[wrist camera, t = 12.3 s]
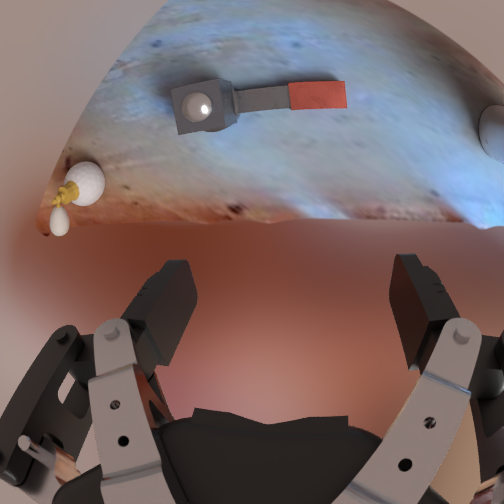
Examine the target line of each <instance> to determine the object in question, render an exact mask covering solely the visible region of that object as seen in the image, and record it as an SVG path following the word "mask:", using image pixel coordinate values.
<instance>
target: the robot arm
mask: <svg viewBox="0 0 504 504" xmlns="http://www.w3.org/2000/svg"><path fill="white" fill-rule="evenodd" d="M479 136H480V141H481V144H482V146H483V148H484V150H485V152H486V153H487V154H488V155H489V156H490V157H491V158H493V159H495V160H497V161H499V162H501V163H503V164H504V106H499V105H491V106H488V107H487V108H486V109H485V110H484V111H483V113H482V115H481V118H480V122H479ZM389 301H390V305H391V308H392V311H393V315H394V318H395V321H396V324H397V328H398V331H399V335H400V338H401V342H402V346H403V350H404V353H405V357H406V361H407V365H408V369H409V371H410V370H417V369H419V370H420V374H421V376H420V378H419V379H418V381H417V383H416V385H415V387H414V389H413V390H412V392H411V394H410V396H409V398H408V399H407V401H406V403H405V405H404V406H403V408H402V409H401V411H400V413H399V414H398V416H397V418H396V419H395V421H394V422H393V424H392V425H391V427H390V428H389V430H388V431H387V433H386V434H385V435H384V437H383V438H382V439H381V438H380V437H378V436H376V435H375V434H373V433H371V432H369V431H367V430H364V429H361V428H358V427H355V426H349V425H348V416H335V417H334V416H333V417H307V418H302V419H298V420H293V421H287V422H282V423H276V424H263V423H260V422H256V421H253V420H250V419H247V418H244V417H241V416H238V415H235V414H232V413H229V412H221V411H213V410H206V409H199V408H195V409H194V412H193V415H192V417H188V418H182V419H178V420H175V419H174V417H173V416H172V414H171V412H170V410H169V407H168V404H167V402H166V399H165V396H164V394H163V391H162V388H161V385H160V382H159V379H158V377H157V374H156V372H155V368H156V365H163V366H169V364H170V361H171V359H172V357H173V355H174V353H175V350H176V348H177V346H178V344H179V342H180V339H181V337H182V335H183V333H184V330H185V328H186V326H187V324H188V322H189V320H190V318H191V315H192V313H193V311H194V309H195V307H196V304H197V289H196V286H195V283H194V279H193V276H192V272H191V269H190V266H189V263H188V261H187V260H168V261H167V262H166V263H165V264H164V266H163V267H162V269H161V270H160V271H159V272H157V273H155V274H154V275H153V276H151V277H150V278H149V279H148V280H147V281H146V282H145V284H144V285H143V286H142V289H140V291H139V292H138V293H137V296H135V298H134V299H133V300H132V302H131V303H130V305H129V306H128V308H127V309H126V310H125V312H124V313H123V315H122V316H121V318H120V319H119V318H118V319H111V320H109V321H106V322H104V323H103V324H102V325H100V326H99V327H98V328H97V330H96V331H95V333H94V334H89V335H80V333H79V332H78V330H77V329H76V327H75V326H73V325H66V326H63V327H61V328H59V329H58V330H56V331H55V332H54V333H53V334H52V336H51V337H50V338H49V340H48V341H47V343H46V344H45V346H44V347H43V348H42V350H41V352H40V353H39V354H38V356H37V357H36V359H35V360H34V362H33V363H32V365H31V367H30V368H29V370H28V371H27V373H26V374H25V376H24V378H23V379H22V381H21V383H20V384H19V386H18V388H17V389H16V391H15V393H14V394H13V396H12V398H11V400H10V401H9V403H8V405H7V407H6V409H5V411H4V413H3V415H2V416H1V418H0V479H2V480H4V481H5V482H7V483H8V484H9V485H11V486H12V487H14V488H16V489H18V490H20V491H22V492H24V493H25V494H27V495H28V496H29V497H31V498H32V499H33V500H35V501H36V502H37V503H39V504H449V503H448V502H447V501H446V500H445V499H444V498H443V497H442V496H441V495H439V494H438V493H437V492H436V491H435V490H434V489H433V488H432V487H431V486H430V483H431V481H432V479H433V478H434V476H435V474H436V473H437V471H438V469H439V467H440V465H441V463H442V462H443V460H444V458H445V456H446V454H447V452H448V450H449V448H450V446H451V444H452V442H453V439H454V437H455V435H456V433H457V430H458V428H459V426H460V423H461V421H462V418H463V416H464V413H465V411H466V408H467V405H468V403H469V401H470V406H471V411H472V416H473V421H474V426H475V432H476V439H477V446H478V453H479V463H480V475H481V476H480V477H481V485H480V486H479V487H478V489H477V491H476V492H475V494H474V497H473V499H472V500H471V502H470V504H504V330H503V332H502V334H501V336H500V337H493V336H485V335H481V332H480V330H479V329H478V327H477V326H476V325H475V324H474V323H472V322H471V321H469V320H467V319H464V318H461V317H460V316H459V313H458V311H457V309H456V308H455V306H454V304H453V302H452V300H451V298H450V296H449V294H448V293H447V292H446V289H445V287H444V285H442V282H441V280H440V278H439V277H438V275H437V274H436V273H435V272H434V271H433V270H432V269H430V268H429V267H428V266H422V264H421V262H420V260H419V259H418V257H417V255H416V254H397V255H396V256H395V259H394V265H393V271H392V277H391V283H390V288H389ZM68 372H69V373H70V374H71V375H72V377H73V378H74V379H75V382H74V384H73V386H72V387H71V389H70V392H69V393H68V395H67V397H66V399H65V401H64V403H63V404H62V403H61V402H60V401H59V399H58V390H59V387H60V386H61V384H62V382H63V380H64V379H65V377H66V375H67V373H68ZM92 422H93V427H94V433H95V439H96V444H97V449H98V453H99V458H100V463H101V464H99V465H97V466H96V467H94V468H92V469H90V470H88V471H87V472H85V473H83V474H81V473H80V471H79V470H77V469H76V460H77V458H78V456H79V453H80V451H81V448H82V445H83V443H84V441H85V438H86V436H87V434H88V431H89V429H90V427H91V424H92Z"/></svg>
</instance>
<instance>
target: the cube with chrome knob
mask: <svg viewBox="0 0 504 504" xmlns="http://www.w3.org/2000/svg"><path fill="white" fill-rule="evenodd" d="M171 96H172V102H173V107H174V113H175V119H176V124H177V130H178V135H182V134H187V133H192V132H197V131H203V130H209V129H215V128H222V127H227V126H229V125H232V124H234V123H237V119H236V112H235V106H234V99H233V92H232V85H231V81H227V80H223V79H219V78H218V79H213V80H208V81H203V82H199V83H194V84H190V85H185V86H181V87H177V88H174V89H171Z"/></svg>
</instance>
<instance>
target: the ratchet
mask: <svg viewBox="0 0 504 504" xmlns="http://www.w3.org/2000/svg"><path fill="white" fill-rule="evenodd" d="M232 92H233V99H234V106H235V112H236V119H238V118H239V116H240V113H244V112H252V111H261V110H271V109H282V108H291V110H301V109H324V108H347V101H346V91H345V82H344V81H314V82H295V83H288V85H287V86H275V87H265V88H257V89H249V90H242V91H237V90H236V89H235V88H233V87H232ZM229 126H231V125H229ZM229 126H227V127H229ZM227 127H222V128H215V129H209V130H203V131H207V132H216V131H220V130H223V129H225V128H227Z"/></svg>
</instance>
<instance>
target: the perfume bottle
mask: <svg viewBox="0 0 504 504" xmlns="http://www.w3.org/2000/svg"><path fill="white" fill-rule="evenodd" d="M104 186H105V177H104V174H103V172H102V170H101V169H100V168H99V167H98V166H97V165H96V164H94V163H92V162H87V161H86V162H80V163H78V164H76V165H74V166H73V167H72V168H71V169H70V170H69V171H68V173H67V175H66V177H65V181H64V186H62V187H60V188H59V189H58V194H57V195H56V196H55V198H54V199H53V201H52V202H51V203H52V204H56V203H57V205H56V206H55V207H54V209H53V211H52V213H51V215H50V229H51V231H52V233H53V234H54V235H56V236H62V235H64V234H65V233H66V232H67V231H68V228H69V218H68V214H67V212H66V210H65V209H64V207H62V206H61V205H60V204H59V203H60V202H62V203H63V204H68V203H69V202H73V203H74V204H76V205H80V206H87V205H90V204H92V203H94V202H95V201H96V200H98V199H99V197H100V196H101V195H102V193H103V190H104Z"/></svg>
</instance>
